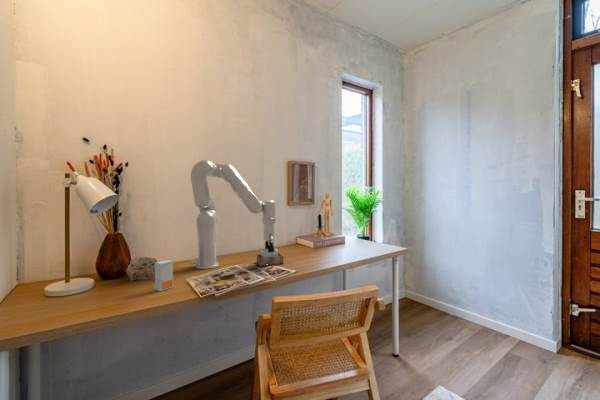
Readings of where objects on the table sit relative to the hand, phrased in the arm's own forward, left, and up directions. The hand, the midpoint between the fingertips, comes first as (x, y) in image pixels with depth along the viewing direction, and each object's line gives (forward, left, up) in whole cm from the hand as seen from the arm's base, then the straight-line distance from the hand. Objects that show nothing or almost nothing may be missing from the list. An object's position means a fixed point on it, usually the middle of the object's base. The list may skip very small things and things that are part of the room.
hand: (269, 250), depth 161 cm
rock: (-66, -2, -8) cm, 66 cm away
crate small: (0, 0, -7) cm, 7 cm away
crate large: (0, 0, -7) cm, 7 cm away
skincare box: (-52, -27, -8) cm, 59 cm away
